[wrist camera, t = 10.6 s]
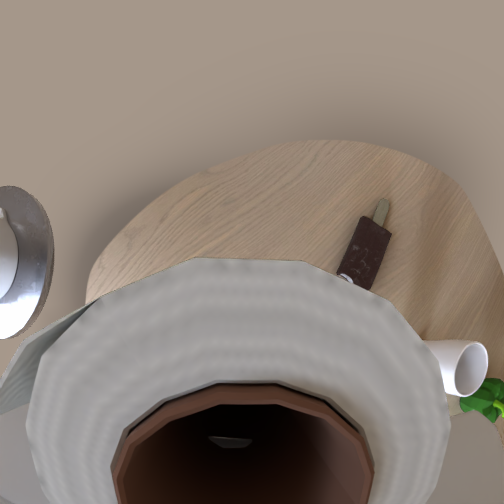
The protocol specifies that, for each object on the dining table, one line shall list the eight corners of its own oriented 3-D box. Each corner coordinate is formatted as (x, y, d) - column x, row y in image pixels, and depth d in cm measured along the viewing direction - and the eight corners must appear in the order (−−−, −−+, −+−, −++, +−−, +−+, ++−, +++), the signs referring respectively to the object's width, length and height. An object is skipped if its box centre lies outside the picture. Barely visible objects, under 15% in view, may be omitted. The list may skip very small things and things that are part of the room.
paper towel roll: (281, 327, 24) (511, 393, 3) (238, 387, 23) (288, 626, 2) (207, 276, 24) (113, 103, 3) (164, 336, 23) (-58, 427, 2)
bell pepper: (456, 380, 40) (494, 389, 30) (483, 370, 41) (520, 375, 31) (451, 422, 38) (486, 437, 29) (479, 409, 39) (513, 419, 29)
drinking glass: (429, 354, 40) (495, 364, 26) (402, 386, 39) (465, 408, 24) (409, 325, 41) (476, 328, 26) (380, 358, 40) (444, 374, 25)
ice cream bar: (369, 192, 44) (333, 278, 41) (374, 189, 42) (337, 277, 39) (396, 210, 44) (363, 295, 41) (401, 206, 42) (368, 295, 39)
